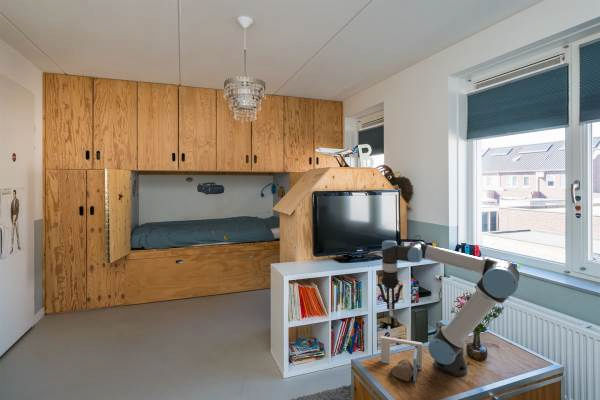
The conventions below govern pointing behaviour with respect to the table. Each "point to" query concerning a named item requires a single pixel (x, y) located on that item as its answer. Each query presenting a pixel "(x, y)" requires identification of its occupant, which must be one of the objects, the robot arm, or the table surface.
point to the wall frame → (386, 342)
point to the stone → (403, 370)
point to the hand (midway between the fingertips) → (390, 315)
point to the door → (415, 363)
